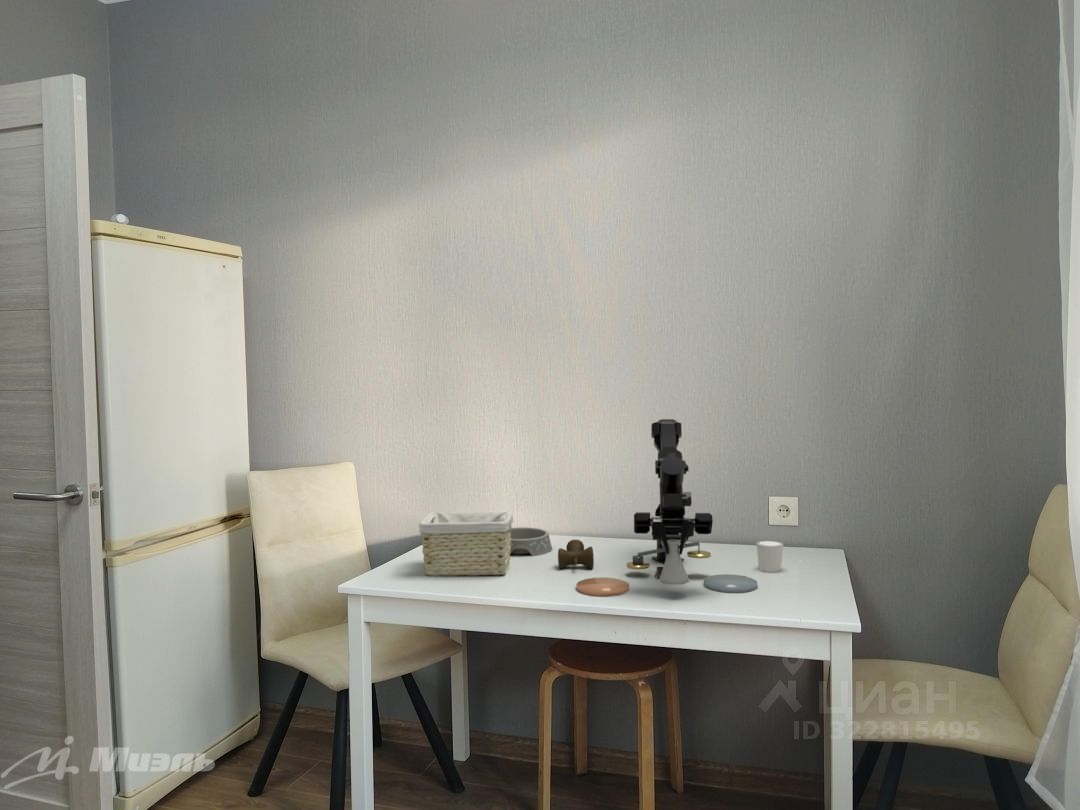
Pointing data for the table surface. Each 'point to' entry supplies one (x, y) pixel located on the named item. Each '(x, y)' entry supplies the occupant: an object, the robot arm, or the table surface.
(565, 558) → the kendama
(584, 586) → the terracotta dish
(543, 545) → the dog bowl
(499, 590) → the table surface
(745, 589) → the slate dish
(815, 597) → the table surface
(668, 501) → the robot arm
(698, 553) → the balance
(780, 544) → the white cup
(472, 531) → the storage basket
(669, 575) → the flask
